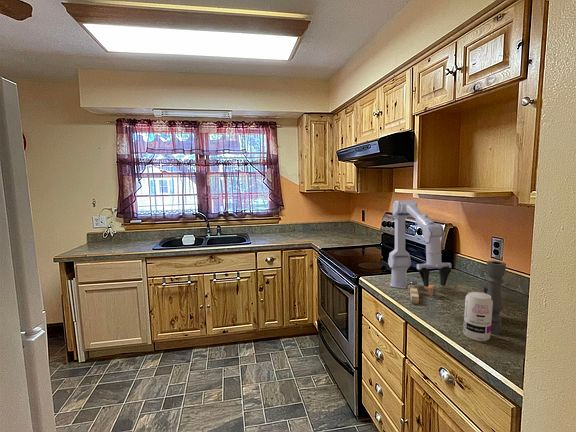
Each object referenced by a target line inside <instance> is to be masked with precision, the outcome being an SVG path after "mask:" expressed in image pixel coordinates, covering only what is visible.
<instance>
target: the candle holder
mask: <svg viewBox="0 0 576 432" xmlns="http://www.w3.org/2000/svg"><path fill="white" fill-rule="evenodd" d="M506 268H507V263H505V262H502V261H496V260H488V261H486V270H485V271H486V273H487V275H488V277H487V278H486V281H487V283H488V284H487V286H488V291H487V294H488V295H490V296H491V298H492V300H493V308H492V321H491V334H493V335H499V334H502V332H503V331H502V329H503V322H502V317H501V316H500V314H501V312H502V311H503V309H504V302H503V297H502V293H501V292H502V284H504V283H505V280H504V279H503V278H504V276H505V274H506Z"/></svg>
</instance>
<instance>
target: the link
mask: <svg viewBox="0 0 576 432" xmlns="http://www.w3.org/2000/svg"><path fill="white" fill-rule="evenodd" d="M419 294H420V288H419V285H418V284H416V285H415V288H414V287H411V284H408V285H407V295H409V296H410V303H411V304H416V305H419V302H420V296H419Z"/></svg>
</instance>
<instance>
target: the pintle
mask: <svg viewBox="0 0 576 432" xmlns="http://www.w3.org/2000/svg"><path fill="white" fill-rule="evenodd" d="M409 284H410V285H411V287H414V288H415V285H418V281H417V280H410V281H409Z"/></svg>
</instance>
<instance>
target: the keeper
mask: <svg viewBox="0 0 576 432" xmlns="http://www.w3.org/2000/svg"><path fill="white" fill-rule="evenodd" d="M423 287H424V289H425V290H427V293H426V294H427V296H434V288H435V284H433V283H429V286H428V287H426V286H423Z"/></svg>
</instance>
